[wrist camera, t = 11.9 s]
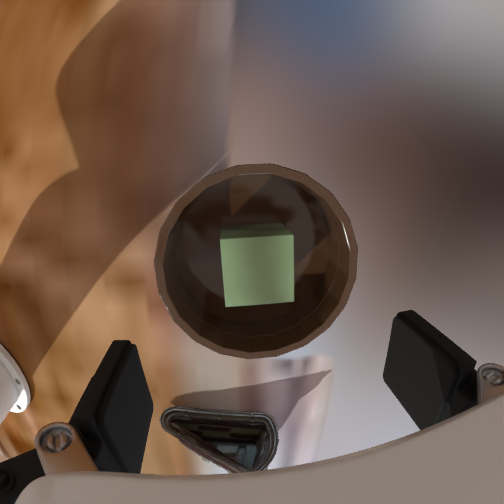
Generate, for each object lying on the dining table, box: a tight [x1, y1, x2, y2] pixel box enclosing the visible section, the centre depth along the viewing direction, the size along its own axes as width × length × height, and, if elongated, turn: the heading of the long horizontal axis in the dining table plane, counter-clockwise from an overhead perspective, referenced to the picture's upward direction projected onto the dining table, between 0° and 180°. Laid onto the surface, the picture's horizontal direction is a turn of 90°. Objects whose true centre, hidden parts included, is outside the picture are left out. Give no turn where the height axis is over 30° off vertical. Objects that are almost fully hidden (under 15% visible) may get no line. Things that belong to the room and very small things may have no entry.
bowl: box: [154, 164, 358, 359], centre depth 21 cm, size 13×13×5 cm
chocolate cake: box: [159, 406, 279, 474], centre depth 27 cm, size 10×7×12 cm
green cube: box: [220, 222, 294, 307], centre depth 21 cm, size 4×4×4 cm
